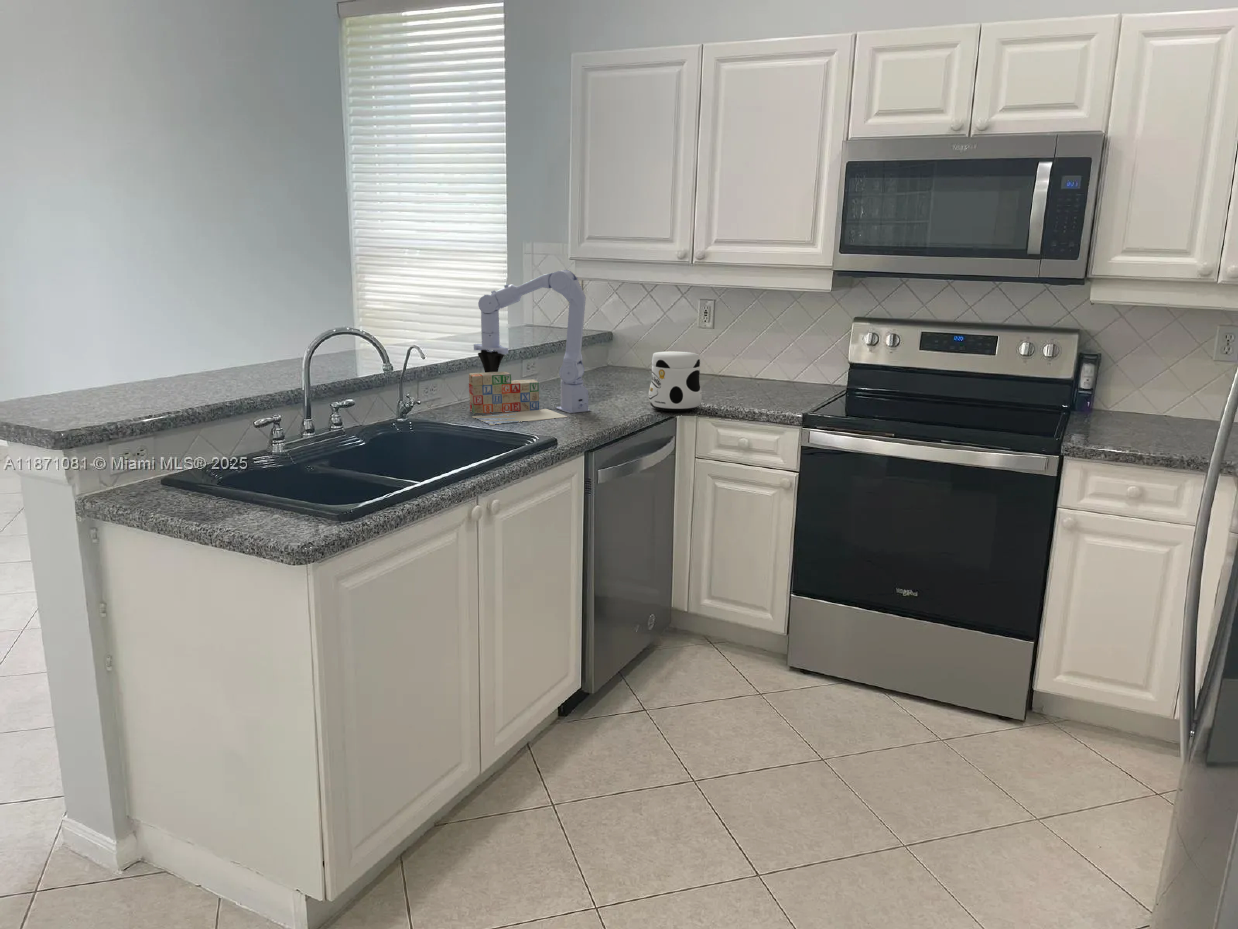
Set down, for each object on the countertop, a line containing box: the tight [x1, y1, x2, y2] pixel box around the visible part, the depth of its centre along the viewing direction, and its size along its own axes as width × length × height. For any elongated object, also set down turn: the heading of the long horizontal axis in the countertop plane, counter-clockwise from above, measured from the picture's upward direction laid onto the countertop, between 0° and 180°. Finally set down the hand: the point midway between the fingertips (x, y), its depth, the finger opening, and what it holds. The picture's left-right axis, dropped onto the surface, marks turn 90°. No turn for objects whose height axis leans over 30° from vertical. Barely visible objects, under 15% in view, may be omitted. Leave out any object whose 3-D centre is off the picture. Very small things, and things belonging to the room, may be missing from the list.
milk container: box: [648, 350, 703, 412], centre depth 292 cm, size 17×17×18 cm
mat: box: [471, 408, 569, 426], centre depth 279 cm, size 14×26×1 cm, turn 122°
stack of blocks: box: [468, 371, 540, 415], centre depth 287 cm, size 21×6×12 cm, turn 110°
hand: (491, 374), depth 293 cm, fingers open, 2 cm apart
